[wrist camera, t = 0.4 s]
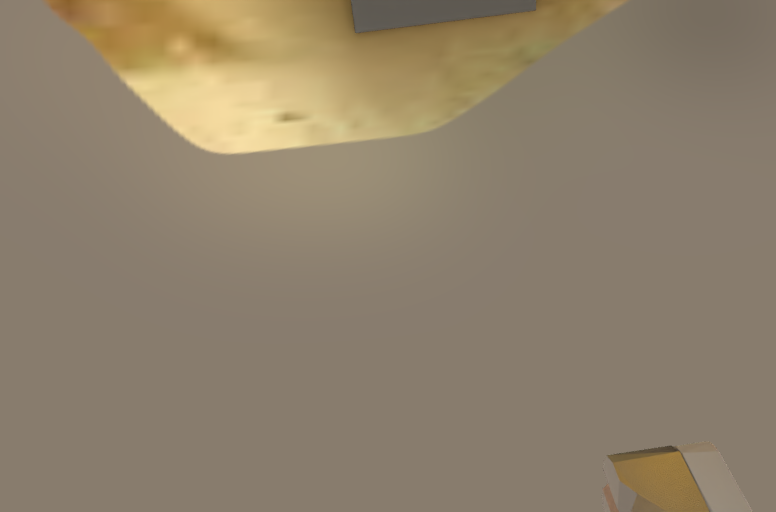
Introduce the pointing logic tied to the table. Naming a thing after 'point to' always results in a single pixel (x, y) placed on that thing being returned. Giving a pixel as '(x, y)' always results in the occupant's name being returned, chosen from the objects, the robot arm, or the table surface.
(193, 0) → the table surface
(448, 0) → the mat
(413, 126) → the table surface
